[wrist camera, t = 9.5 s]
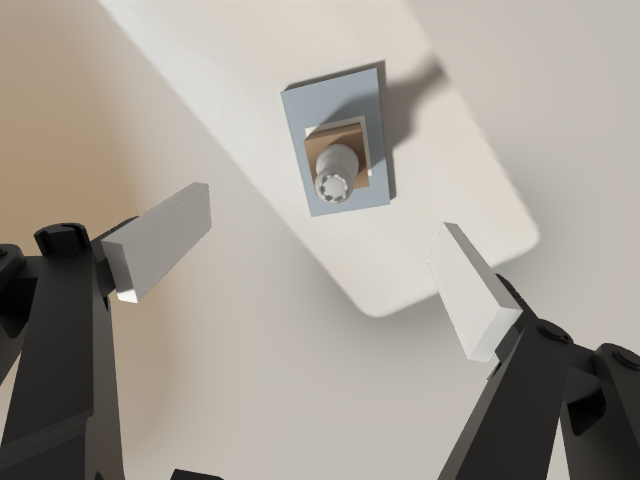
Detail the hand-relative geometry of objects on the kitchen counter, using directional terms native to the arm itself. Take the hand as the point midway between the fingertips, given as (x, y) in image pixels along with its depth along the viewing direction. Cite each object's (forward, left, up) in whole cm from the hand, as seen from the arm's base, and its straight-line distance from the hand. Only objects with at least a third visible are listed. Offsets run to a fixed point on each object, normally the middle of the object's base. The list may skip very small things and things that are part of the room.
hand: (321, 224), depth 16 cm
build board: (0, 0, -23) cm, 23 cm away
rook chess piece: (0, 0, -16) cm, 16 cm away
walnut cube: (0, 0, -21) cm, 21 cm away
